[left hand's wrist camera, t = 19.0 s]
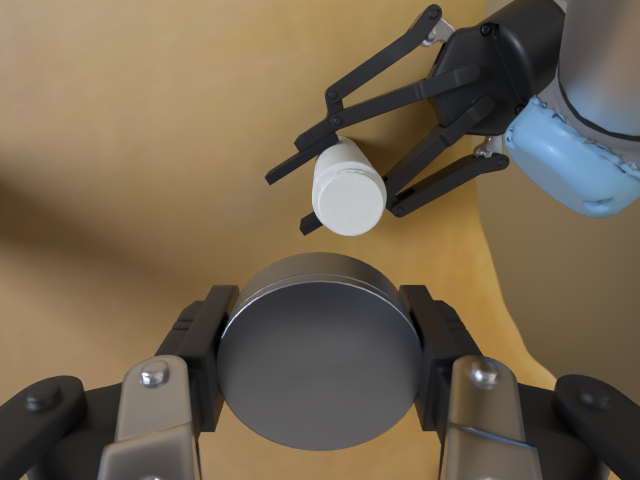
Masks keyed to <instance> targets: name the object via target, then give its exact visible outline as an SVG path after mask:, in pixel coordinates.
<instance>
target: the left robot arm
mask: <svg viewBox="0 0 640 480" xmlns="http://www.w3.org/2000/svg"><path fill="white" fill-rule="evenodd" d="M399 293H400V295H401V296H402V299H403V301H404V303H405V305H406V308H407V310H408V312H409V315H410V317H411V320H412V322H413V325H414V327H415V330H416V332H417V335H418V337H419V339H420V342H421V346H422V350H423V355H422V364H421V373H420V382H419V391H418V395H417V398H416V399H415V401H414V404H415V407H416V411H417V414H418V417H419V420H420V424H421V427H422V430H423V431H437V434H438V437H439V440H440V443H441V449H440V457H439V467H438V477H437V480H607V479H608V476H609V473H610V471H611V470H612V471H613V472H614V473H615V474H616V475H617V476H618V477H619V478H620V479H621V480H640V406H638V405H637V404H635V403H634V402H633V401H632V400H630V399H629V398H628V397H626V396H625V395H624V394H622V393H621V392H620V391H618V390H617V389H615V388H614V387H612V386H610V385H609V384H607V383H605V382H602V381H600V380H597V379H595V378H591V377H588V376H584V375H573V374H571V375H565V376H562V377H560V378H559V379H558V380H557V382H556V385H555V389H554V391H552V390H547V389H542V388H538V387H533V386H529V385H524V384H521V383H518V382H517V379H516V377H515V375H514V373H513V372H512V371H511V370H510V369H509V368H508V367H507V366H505V365H504V364H502V363H501V362H499V361H497V360H495V359H492V358H489V357H485V356H483V354H482V353H481V351H480V350H479V348H478V346H477V345H476V343H475V342H474V340H473V338H472V337H471V335H470V334H469V332H468V330H466V327H465V326H464V324H463V322H462V321H461V319H460V318H459V316H458V314H457V313H456V311H455V310H454V309H453V308H452V307H451V306H449V305H448V304H446V303H445V302H444V301H442V300H433V299H432V297H431V295H430V294H429V292H428V290H427V288H426V286H425V285H400V288H399ZM239 295H240V294H239V288H238V286H237V285H214V286H213V287H212V288H211V290H210V292H209V294H208V296H207V297H206V299H205V301H195V302H193V303H192V304H191V305H189V306H188V307H186V308H185V309H184V310H183V311H182V313H181V314H180V316H179V318H178V319H177V322H175V324H174V325H173V327H172V330H170V332H169V333H168V335H167V336H166V338H165V340H164V341H163V343H162V344H161V346H160V348H159V349H158V351H157V352H156V354H155V355H154V357H151V358H148V359H145V360H143V361H141V362H139V363H138V364H136V365H135V366H133V367H132V368H131V369H130V370H129V371H128V372H127V373H126V375H125V377H124V379H123V382H121V383H118V384H115V385H111V386H107V387H102V388H98V389H93V390H88V391H84V387H83V384H82V382H81V380H80V379H78V378H76V377H73V376H56V377H51V378H47V379H44V380H41V381H39V382H36V383H34V384H32V385H30V386H28V387H27V388H25V389H23V390H22V391H21V392H19V393H18V394H16V395H15V396H14V397H12V398H11V399H10V400H8V401H7V402H6V403H4V404H3V405H2V406H0V480H19V479H20V478H21V477H22V476H23V475H24V474H25V473H26V474H27V476H28V479H29V480H203V477H202V467H201V457H200V449H199V442H198V439H199V436H200V433H201V432H215V429H216V426H217V423H218V420H219V416H220V413H221V410H222V407H223V403H224V400H225V399H224V397H223V395H222V393H221V390H220V388H219V383H218V375H217V366H216V355H217V349H218V346H219V343H220V339H221V337H222V334H223V332H224V329H225V327H226V324H227V322H228V320H229V317H230V315H231V312H232V310H233V307H234V305H235V303H236V301H237V299H238V297H239Z"/></svg>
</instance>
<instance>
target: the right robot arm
mask: <svg viewBox="0 0 640 480" xmlns="http://www.w3.org/2000/svg"><path fill="white" fill-rule="evenodd" d="M441 16H442V10H441V8H440V7H439V6H438V5H436V4H432V5H430V6H429V7H427V8H426V9H425V10H424V11H423V12H422V13H421V14H420V15H419V16H418V17H417V18H416V20H415V21H414V22H413V24H412V25H411V27H410V28H409V29H408V31H407V32H406V33H405V34H404V35H403V36H402V37H400V38H399V39H397V40H396V41H394V42H393V43H392V44H390V45H389V46H387V47H386V48H385V49H383V50H382V51H380V52H379V53H377V54H376V55H375V56H373V57H372V58H370V59H369V60H367V61H366V62H365V63H363V64H362V65H360V66H359V67H357V68H356V69H355V70H353V71H352V72H350V73H349V74H347V75H346V76H345V77H343V78H342V79H340V80H339V81H337V82H336V83H335V84H333V85H332V86H330V87H329V88H328V89H327V90H326V92H325V99H326V104H327V110H328V112H327V116H326V117H325V119H323V120H322V121H321V122H319V123H318V124H316V125H314V126H313V127H311V128H310V129H308V130H307V131H305V132H304V133H302V134H301V135H299V136H298V138H297V139H296V141H295V142H294V144H295V146H296V147H297V149H298V150H299V152H298V153H297V154H295V155H294V156H292V157H291V158H289V159H288V160H286V161H284V162H283V163H281V164H280V165H278V166H277V167H275V168H274V169H272V170H270V171H269V172H268V174H267V175H266V176H265V179H266V180H267V182H268V183H269V185H271V184H273V183H275V182H276V181H278V180H279V179H281V178H282V177H284V176H285V175H287V174H289V173H290V172H292V171H293V170H295V169H296V168H298V167H300V166H301V165H303V164H304V163H306V162H307V161H309V160H311V159H312V158H314V157H315V156H317V155H318V154H320V153H322V152H323V151H325V150H326V149H328V148H329V147H331V146H333V145H334V144H336V143H337V142H339V139H338V137H337V135H336V133H335V132H336V131H337V130H339V129H342V128H345V127H347V126H350V125H353V124H356V123H358V122H361V121H364V120H366V119H369V118H372V117H375V116H377V115H380V114H383V113H386V112H388V111H391V110H394V109H397V108H399V107H402V106H405V105H408V104H410V103H413V102H416V101H419V100H422V99H426V98H427V99H428V101H429V102H430V103H431V105H432V106H433V107H434V108H435V110H436V115H437V119H438V121H439V123H438V124H437V125H436V126H435V127H433V128H432V130H431V131H430V133H429V134H428V135H427V136H426V137H425V138H424V139H423V140H422V141H421V142H420V143H418V144H417V145H416V146H415V147H414V148H413V149H412V150H411V151H410V152H409V153H408V154H407V155H406V156H405V157H403V158H402V159H401V160H400V161H399V162H398V163H397V164H396V165H395V166H394V167H393V168H392V169H391V170H390V171H388V172H387V173H386V174H385V175H384V176H383V177H382V180H383V182H384V184H385V188H386V193H387V199H386V205H385V208H386V209H388V210H389V211H390V212H392V213H393V214H394V216H396V217H403V216H405V215H407V214H409V213H411V212H412V211H414V210H416V209H418V208H420V207H421V206H423V205H425V204H427V203H429V202H431V201H432V200H434V199H436V198H438V197H440V196H442V195H443V194H445V193H447V192H449V191H451V190H452V189H454V188H456V187H458V186H460V185H462V184H463V183H465V182H467V181H469V180H471V179H472V178H474V177H476V176H478V175H480V174H483V173H489V172H494V171H499V170H503V169H505V168H507V167H508V165H509V158H508V157H507V156H506V155H503V134H504V133H505V136H504V142H505V147H506V149H507V151H508V153H509V155H510V156H511V158H512V159H513V161H514V162H515V163H516V164H517V165H518V167H519V168H520V169H521V170H522V171H523V172H524V173H525V174H526V175H527V176H528V177H529V178H530V179H531V180H532V181H533V182H534V183H536V184H537V185H538V186H539V187H540V188H542V189H543V190H544V191H545V192H546V193H548V194H549V195H550V196H552V197H553V198H554V199H556V200H557V201H559V202H560V203H562V204H563V205H565V206H566V207H568V208H570V209H571V210H573V211H575V212H577V213H580V214H582V215H585V216H588V217H592V218H606V217H610V216H613V215H615V214H617V213H618V212H620V211H621V210H623V209H624V208H625V207H627V206H628V205H629V204H631V203H632V202H633V201H635V200H636V199H637V198H639V197H640V0H514V1H512V2H511V3H509V4H508V5H506V6H505V7H503V8H502V9H500V10H499V11H497V12H496V13H494V14H493V15H491V16H490V17H488V18H486V19H485V20H483V21H482V22H480V23H479V24H477V25H476V26H474V27H469V28H460V29H458V30H455V29H454V28H453V27H452V26H451V25H450V24H449V23H448V22H447V21H446V20H445V19H443V18H442V17H441ZM435 42H441V43H443V45H442V47H441V49H440V51H439V53H438V56H437V58H436V60H435V62H434V64H433V66H432V69H431V71H430V73H429V75H428V77H427V78H425V79H422V80H419V81H417V82H414V83H411V84H409V85H407V86H404V87H401V88H399V89H396V90H393V91H391V92H388V93H385V94H382V95H380V96H377V97H374V98H372V99H369V100H366V101H364V102H361V103H358V104H355V105H353V106H350V107H347V108H345V109H343V103H342V99H343V98H344V97H346V96H347V95H348V94H350V93H351V92H353V91H354V90H356V89H357V88H359V87H360V86H361V85H363V84H364V83H366V82H367V81H369V80H370V79H372V78H373V77H375V76H376V75H377V74H379V73H380V72H382V71H383V70H385V69H386V68H388V67H389V66H391V65H392V64H393V63H395V62H396V61H398V60H399V59H401V58H402V57H404V56H405V55H407V54H408V53H409V52H411V51H412V50H414V49H415V48H416V47H418V46H419V45H421V46H422V47H428V46H431V45H433V44H434V43H435ZM464 134H465V135H479V136H485V140H484V142H483V143H482V144H480V145H478V146H476V147H475V148H474V150H473V154H471V155H468V156H465V157H463V158H461V159H459V160H457V161H455V162H453V163H452V164H450V165H448V166H446V167H445V168H443V169H441V170H439V171H438V172H436V173H434V174H432V175H430V176H429V177H427V178H425V179H423V180H422V181H420V182H418V183H416V184H414V185H413V186H411V187H409V188H407V189H406V190H404V191H402V192H400V193H398V192H399V191H400V190H401V189H402V188H403V187H404V186H405V185H406V184H407V183H409V182H410V181H411V180H412V179H413V178H414V177H415V176H416V175H417V174H418V173H420V172H421V171H422V170H423V169H424V168H425V167H426V166H427V165H428V164H429V163H431V162H432V161H433V160H434V159H435V158H436V157H437V156H438V155H439V154H440V153H442V152H443V151H444V150H445V149H446V148H447V147H450V146H452V145H453V144H454V143H455V142H457V141H458V140H459V139H460V138H461V137H462V136H463V135H464ZM396 193H398V194H397V195H395V194H396ZM322 225H324V224H323V223H322V222H321V221H320V220H319V219H318V217H317V216H316V214H315V211H314V212H312V213H311V214H309V215H307V216H306V217H304V218H302V219H301V224H300V230H301V232H302V233H303V234H304V236H305V235H307V234H309V233H310V232H312V231H314V230H315V229H317V228H319V227H320V226H322Z"/></svg>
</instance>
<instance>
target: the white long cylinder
mask: <svg viewBox="0 0 640 480" xmlns="http://www.w3.org/2000/svg"><path fill="white" fill-rule="evenodd" d="M337 137H338V139H339V142H337V143H336V144H334V145H333V146H331V147H329V148H328V149H326V150H325V151H323V152H322V153H320V154H318V155H317V156H316V162H315V171H314V181H313V191H312V205H313V209H314V211H315V214H316V216H317V217H318V219H319V220H320V221H321V222H322V223H323V224H324V225H325V226H326V227H327V228H329V229H330V230H332V231H333V232H335V233H337V234H340V235H344V236H357V235H361V234H363V233H366V232H367V231H369V230H371V229H372V228H373V227H374V226H375V225H376V224H377V223H378V221H379V220H380V218H381V216H382V214H383V211H384V209H385V205H386V199H387V193H386V188H385V184H384V182H383V180H382V178H381V177H380V175H379V174H378V173H377V171H376V170H375V169H374V167H373V166H372V165H371V163H370V162H369V161H368V159H367V158H366V157H365V155H364V154H363V153H362V152H361V150H360V149H359V148H358V146H357V145H356V144H355V143H354V142H353V141H352V140H351V139H349V138H347V137H344V136H337Z"/></svg>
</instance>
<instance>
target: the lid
mask: <svg viewBox="0 0 640 480" xmlns="http://www.w3.org/2000/svg"><path fill="white" fill-rule="evenodd" d="M422 355H423V350H422V346H421V342H420V339H419V337H418V335H417V332H416V330H415V327H414V325H413V322H412V320H411V317H410V315H409V312H408V310H407V308H406V305H405V303H404V301H403V299H402V296H401V295H400V293H399V292H398V290H397V289H396V287H395V286H394V285H393V284H392V283H391V282H390V280H389V279H388V278H386V277H385V276H384V275H383V274H382V273H381V272H380V271H378V270H376V269H375V268H373V267H372V266H370V265H368V264H366V263H364V262H362V261H360V260H358V259H355V258H352V257H349V256H345V255H340V254H335V253H324V252H318V253H305V254H299V255H295V256H291V257H288V258H285V259H282V260H280V261H278V262H275V263H273V264H271V265H270V266H268V267H267V268H265V269H263V270H262V271H261V272H259V273H258V274H257V275H256V276H254V277H253V278H252V279H251V280H250V282H249V283H248V284H247V285H246V286H245V287H244V289H243V290H242V292H241V293H240V295H239V297H238V299H237V301H236V303H235V305H234V307H233V310H232V312H231V315H230V317H229V320H228V322H227V324H226V327H225V329H224V332H223V334H222V337H221V339H220V343H219V346H218V349H217V355H216V366H217V375H218V383H219V388H220V390H221V393H222V395H223V397H224V399H225V401H226V403H227V405H228V406H229V408H230V409H231V410H232V412H233V413H234V414H235V415H236V416H237V417H238V419H239V420H240V421H241V422H242V423H244V424H245V425H246V426H247V427H248V428H250V429H251V430H253V431H254V432H256V433H257V434H259V435H260V436H262V437H264V438H266V439H268V440H270V441H273V442H275V443H278V444H281V445H284V446H288V447H291V448H296V449H302V450H313V451H328V450H337V449H344V448H348V447H352V446H356V445H359V444H362V443H365V442H367V441H369V440H372V439H374V438H376V437H378V436H379V435H381V434H383V433H384V432H386V431H388V430H389V429H390V428H391V427H393V426H394V425H395V424H396V423H397V422H398V421H399V420H400V419H401V418H402V417H403V416H404V415H405V414H406V413H407V412H408V410H409V409H410V408H411V406H412V405H413V403H414V401H415V399H416V398H417V395H418V391H419V382H420V373H421V364H422Z"/></svg>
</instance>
